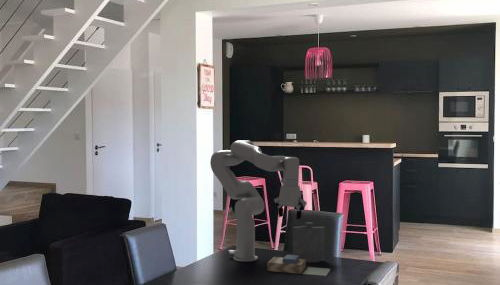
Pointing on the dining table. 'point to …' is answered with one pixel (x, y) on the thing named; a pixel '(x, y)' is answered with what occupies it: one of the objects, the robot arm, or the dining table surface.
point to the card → (291, 259)
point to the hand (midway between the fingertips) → (289, 217)
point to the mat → (316, 271)
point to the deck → (286, 265)
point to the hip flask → (309, 242)
